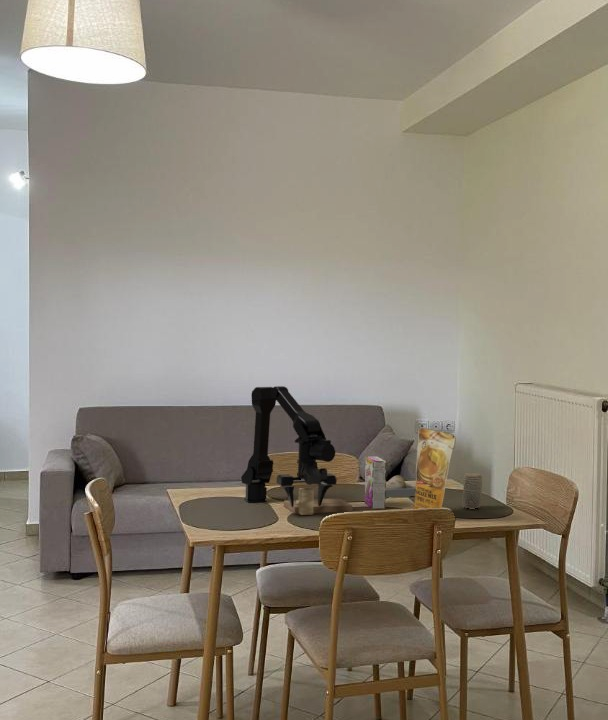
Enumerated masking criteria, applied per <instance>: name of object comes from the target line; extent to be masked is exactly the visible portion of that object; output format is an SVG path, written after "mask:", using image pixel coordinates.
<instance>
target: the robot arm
mask: <svg viewBox="0 0 608 720" xmlns="http://www.w3.org/2000/svg"><path fill="white" fill-rule="evenodd" d="M276 402H277V403H276ZM276 404H278V405H279V406H281V408H282V409H283V410H284V412H285V413H286V414H287V415H288V418H290V419H291V421H292V427H293V429H294V431H295V433H296V435H297V436H298V437H297V438H295V440H294V443H295V444H296V443H297V444H298V457H297V461H296V463H297V464H298V465H297V466H298V467H297V472H296V476H292V475H290V474H278V475H277V476H276V484H277V485H278V486H280V487H282V488H284V490H285V494H286V495H287V498H288V500H289V501H290V504H291V507H293V505H294V500H295V498H294V489H295V486H293V485H294V483H295V484H297V483H301V484H302V483H304V484H306V485H310V486H311V485H318V486H317V487H318V488H317V489H318V490H317V499H318V506H321V503H322V500H323V499H325V498H324V497H325V495H326V493H327V491H328V490H329V489H330V488H332V487H333V486H334V485H337V480H338V479H337V476H336V475H334V474H332V473H328V469H327V468H325V467H322V468H321V467H320V468H319V467H318V462H317V461H321V462H325V463H326V462H327V463H330V462H332V461H333V460H334V459H335V456H336V449H335V447H334V445H333V444H332V441H331V439H327V437H326V434H325V433H324V431H323V428H322V425H321V423H320V421H319V420H318V419H317V418H316V417H315V416H314V415H312V414H310V413H308V412H306V411H305V410H304V409H303V408H302V406H301V405H300V404H299V403H298V402H297V400H296V399H295V398H294V397H293V396H292V394H291V393H290V392H289V389H288V387H286V386H285V385H284V386H283V385H282V386H281V385H279V386H274V387H273V386H256V387H254V388H253V389H252V391H251V406H252V407H253V409H254V411H255V421H254V422H255V423H254V434H253V453H252V454H251V456H250V458H249V460H248V463H247V468H246V470H245V471H244V473H243V474H242V475H241V478H240V479H241V483H242V484H245V495H244V496H245V497H243V500H245V502H248V503H266V502H267V492H268V491H267V489H268V488H267V487H266V484H270V480H271V477H272V474H273V472H274V461H273V460H272V459H271V458H270V456H269V443H270V442H269V441H270V439H269V438H270V425H271V424H270V423H271V413H272V411H273V410H274V408H275V407H276Z"/></svg>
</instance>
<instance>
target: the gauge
mask: <svg viewBox="0 0 608 720" xmlns="http://www.w3.org/2000/svg"><path fill="white" fill-rule="evenodd" d="M314 491H315V489H313V488H312V487H307V488H306V487H304V488H303V487H302V488H301V487H300V488H298V499H295V500H296V503H297V504H298V505H299V509H298V513H299V514H298V515H301V516H305V515H306V516H307V515H314V513H313V502H314V499H315V498H314V497H315V496H314V495H315V492H314Z"/></svg>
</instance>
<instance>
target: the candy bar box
mask: <svg viewBox="0 0 608 720" xmlns="http://www.w3.org/2000/svg"><path fill="white" fill-rule="evenodd" d="M364 463H365V465H364V466H365V469H364V473H365V474H364V475H365V476H364V504H366V505H367V506H368V507H370V508H371V509H372V510H385V509H386V498H385V495H386V483H387V480H386V479H387V461H386V460H384V459H383V458H382V457H380V456H372V455H371V456H365V462H364Z"/></svg>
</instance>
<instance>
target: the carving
mask: <svg viewBox="0 0 608 720" xmlns="http://www.w3.org/2000/svg"><path fill="white" fill-rule="evenodd" d="M482 488H483V477H482V475H481V474H480V473H475V472H473V473H472V472H471V473H469V472H467V473H464V475H463V490H462V498H461V500H462V507H463V508H464V507H465V508H478V507H479V508H480V507H482ZM465 508H464V509H465ZM479 508H478V509H479Z"/></svg>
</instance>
